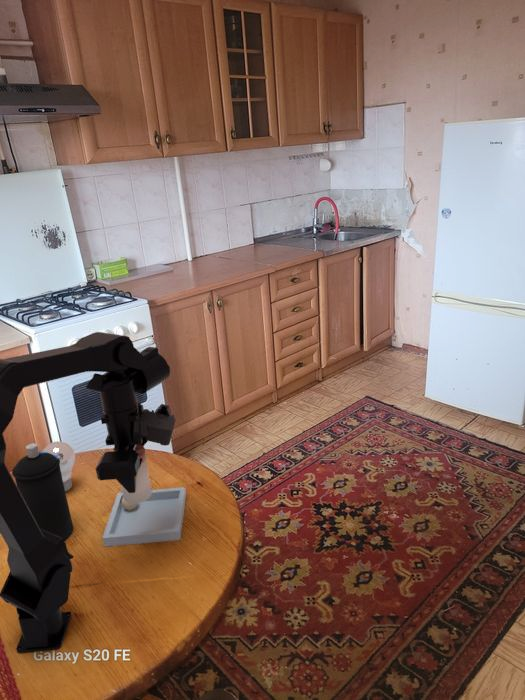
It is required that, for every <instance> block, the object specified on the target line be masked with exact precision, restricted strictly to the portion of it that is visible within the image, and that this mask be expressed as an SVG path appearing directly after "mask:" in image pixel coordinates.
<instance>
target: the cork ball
mask: <svg viewBox="0 0 525 700" xmlns="http://www.w3.org/2000/svg"><path fill="white" fill-rule="evenodd" d="M122 506H123V507H124V508H125V509H127V510H132V509H134V508H135V507H136V506H137V504H129V503H127V502H125V501H124V497H123V499H122Z"/></svg>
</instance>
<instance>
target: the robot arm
mask: <svg viewBox="0 0 525 700" xmlns="http://www.w3.org/2000/svg"><path fill="white" fill-rule="evenodd" d="M89 372H94V373H93V375H92V378H90V380H89V381H88V382H87V384H86V386H85V387H86V389H87V390H89V391H93V392H98V393H99V397H100V401H101V406H102V412H103V414H102V416H101V418H100V421H101V425H105V426H106V430H107V436H106V437H105V444H106V446H114V447H113V448H112V449H113V450H111V451H105V452H104V453H103V454H102V455H101V457H100V459H99V461H98V462H97V465H96V467H95V474H96V477H97V479H98V480H99V481H110V480H116V481H117V482H118V483H119V484H120V486H121V485H122V486H123V487H124V488H125V489H126V490H127V491H128V492H129V493H135V491H136V476H137V473H138V470H139V468H140V466H141V463H142V460H143V458H141V459H140V458H139V454H138V453H137V451H135V450H134V449H135V446H136V444H139V445H142V446H143V447H144V446H145V445H146V444H147V443H148V442H152V443H156V444H159V445H161V446H169V445H170V444H171V440H172V436H173V432H174V428H175V424H176V418H175V415H174V414H172V411H171V408H170V405H167V404H163V403H161V404H160V405H159V406H157V408H156V409H155V410H152V409H151V411H150V410H149V409H147V408H145V409H144V405H143V404H142V402H138V398H137V394H145V393H147V392H149V391H150V390H152V389H154V388H155V387H157V386H159V385H160V384H162V383H164V382H166V381H167V380H168V379H169V377H170V375H171V367H170V365H169V364H168V362H167V361H166V359H165V357H164V356H162V355H161V354H160V353H159V348H158V347H154V346H147V347H146V348H144V349H143V350H141V351H139V350H138V349H137V348H136V347H135V346H134V343H133V341H132V340H131V339H130V336H128V335H123V334H115V333H108V332H103V331H96V332H93V333H90V334H88V335H86V336H83V337H81V338H79V340H77V341H76V342H75V343H73V344H71V345H68V346H62V347H58V348H54V349H48V350H42V351H38V352H32V353H27V354H22V355H17V356H13V357H7V358H0V535H1V537H2V538H3V540H4V543H6V546H7V548H8V553H7V557H6V562H7V565H8V568H9V570H10V571H9V573H8V574H7V577H6V579H5V582H4V584H3V586H2V588H1V589H0V590H1V591H0V598H1V600H3V601H4V602H5V603H7V604H10V605H11V606H14V607H15V609H16V614H17V617H18V618H17V620H18V623H19V626H20V627H19V628H20V630H21V633H22V634H21V637H20V639H19V641H18V643H17V646H16V648H15V650H16V653H27V652H38V651H48V650H49V651H51V650H58V649H60V648H61V647H62V644H63V642H64V639H65V636H66V633H67V630H68V627H69V625H70V621H71V618H72V612H71V611H62V610H61V608H62V607H63V606H64V605H65V604H67V602H68V601H69V596H70V595H69V594H70V593H69V592H70V583H71V573H72V572H73V563H72V560H71V559H73V558H74V555H72V554H71V553H70V552H69V550H68V548H67V544H66V542H65V541H66V540H65V541H64V540H63V538H60V537H58V536H56V535H53V534H51V533H49V532H47V531H44V530H42V529H40V528H39V526H38V524H37V523H36V521H35V519H34V517H33V515H32V513H31V511H30V510H29V508H28V506H27V504H26V502H25V500H24V498H23V496H22V495H21V493H20V491H19V489H18V487H17V484H16V481H15V480H14V477H13V475H12V473H10V470H9V469H8V467H7V465H6V463H5V457H6V452H7V443H6V440H5V436H4V432H5V431H6V429H7V428H8V426H9V424H11V422H12V420H13V418H14V415H15V410H16V406H17V402H18V397H19V395H20V394H21V392H22V390H23V389H24V388H27V387H31V386H36V385H40V384H43V383H47V382H52V381H55V380H59V379H63V378H66V377H71V376H74V375H79V374H81V373H89ZM95 372H96V373H95ZM97 372H98V373H97ZM99 372H101V373H103V374H101V373H99Z"/></svg>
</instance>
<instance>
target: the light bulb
mask: <svg viewBox="0 0 525 700" xmlns="http://www.w3.org/2000/svg"><path fill="white" fill-rule="evenodd" d="M41 452H48V453H50V454H53V455H55V456H57V457H58V458H59V459H60V465H59V466H60V470H61V475H62V479H63V484H64V488H65V493H66V492H68V491H70V490H71V489H72V487H73V482H72V469H73V467H74V465H75V462H76V454H75V451H74V449H73V447H72V446H71V445H70V444H68V443H67V442H65V441H53V442H50V443H48V444H47V445H46V446H45V447H44V449H43V450H42V451H41Z"/></svg>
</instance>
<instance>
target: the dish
mask: <svg viewBox="0 0 525 700" xmlns="http://www.w3.org/2000/svg"><path fill="white" fill-rule="evenodd" d="M151 490H152V495H151V497H150V498H149V499H148V500H146V501H144V502H142V503H138V504H137V506H136V507H135V508H134V509H132V510H127V509H125V508H124V507H123V506H122V499H123V493H122V492H118V493H117V495H116V497H115V500H114V502H113V504H112V505H113V506H112V509H111V511H110V515H109V518H108V520H107V523H106V526H105V528H104V533H103V536H102V542H103V543H102V544H103V546H104V547H105V548H106V547H117V546H126V545H140V544H150V543H151V544H152V543H161V542H172V541H174V542H175V541H181V538H182V537H181V536H182V530H183V529H182V528H183V522H184V513H185V507H186V499H187V492H186V491H187V490H186V487H185V486H184V487H183V486H182V487H170V488H159V489H158V488H157V489H151Z"/></svg>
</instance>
